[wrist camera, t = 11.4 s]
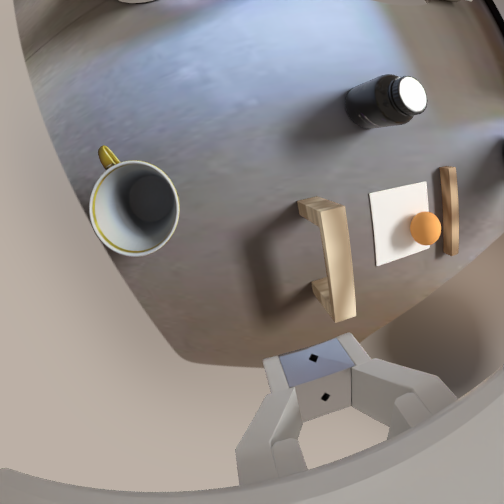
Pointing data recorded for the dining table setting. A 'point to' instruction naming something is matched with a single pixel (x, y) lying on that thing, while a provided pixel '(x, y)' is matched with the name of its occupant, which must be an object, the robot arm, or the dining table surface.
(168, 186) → the ceramic cup
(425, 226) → the ball
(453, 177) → the rail
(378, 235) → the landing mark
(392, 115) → the supplement bottle
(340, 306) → the bridge
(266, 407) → the robot arm
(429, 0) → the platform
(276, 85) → the dining table surface
